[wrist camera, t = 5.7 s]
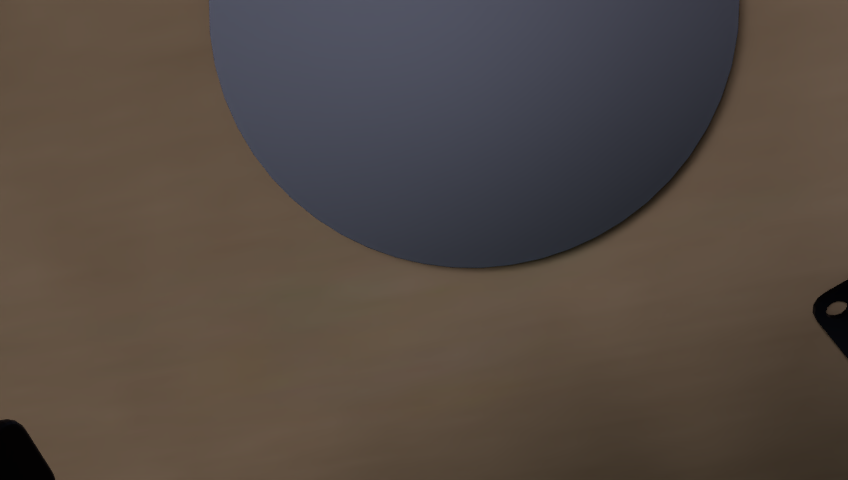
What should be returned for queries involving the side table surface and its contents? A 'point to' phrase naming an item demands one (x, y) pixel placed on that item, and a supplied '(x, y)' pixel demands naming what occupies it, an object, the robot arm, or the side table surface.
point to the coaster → (472, 113)
